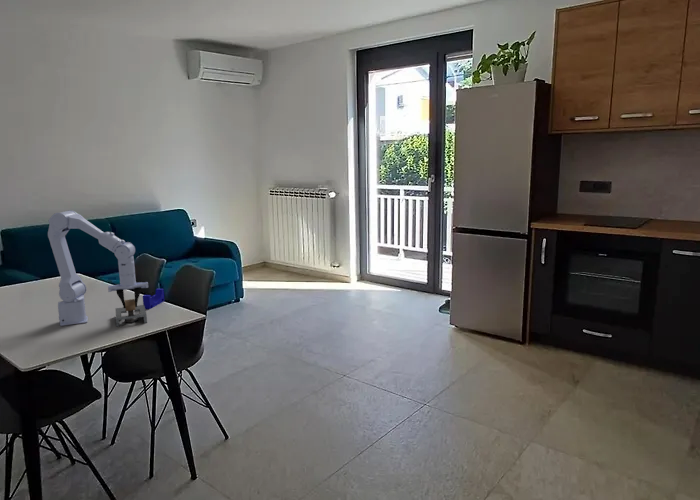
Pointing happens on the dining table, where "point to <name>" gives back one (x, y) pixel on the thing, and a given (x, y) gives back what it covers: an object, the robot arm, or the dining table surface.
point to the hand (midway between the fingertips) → (130, 306)
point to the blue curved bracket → (153, 299)
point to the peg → (130, 309)
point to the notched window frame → (123, 310)
